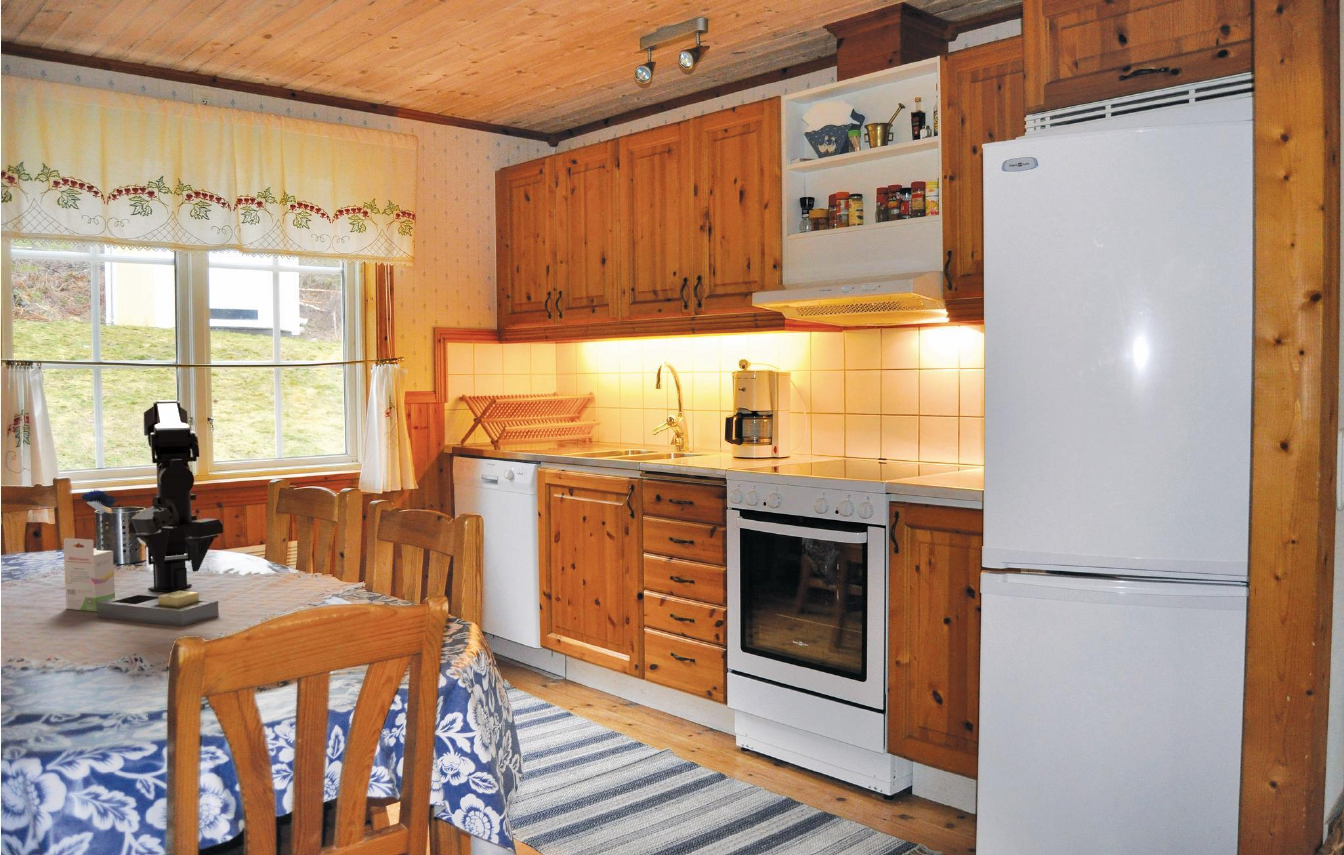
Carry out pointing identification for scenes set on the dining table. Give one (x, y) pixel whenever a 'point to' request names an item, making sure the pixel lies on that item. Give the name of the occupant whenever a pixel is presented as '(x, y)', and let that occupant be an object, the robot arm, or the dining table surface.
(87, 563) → the ink box
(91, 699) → the dining table surface
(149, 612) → the grey flat block
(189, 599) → the natural wood cube
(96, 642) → the dining table surface
